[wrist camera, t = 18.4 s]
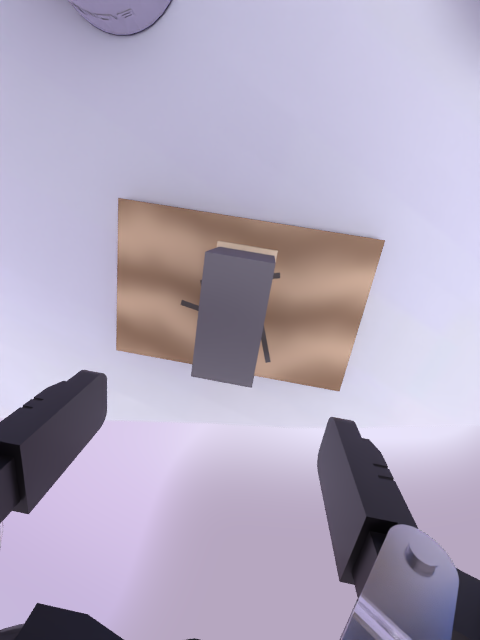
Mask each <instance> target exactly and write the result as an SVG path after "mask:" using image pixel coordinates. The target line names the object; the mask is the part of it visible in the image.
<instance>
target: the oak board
mask: <svg viewBox="0 0 480 640" xmlns="http://www.w3.org/2000/svg"><path fill="white" fill-rule="evenodd" d="M217 241H223V242H229V243H235V244H241V245H247V246H253V247H259V248H265V249H271V250H277V251H278V253H277V258H276V264H275V269H274V275H273V280H272V285H271V290H270V295H269V301H268V306H267V311H266V316H265V321H264V326H263V332H262V337H261V342H260V347H259V352H258V358H257V363H256V368H255V373H254V376H259V377H265V378H270V379H275V380H281V381H286V382H292V383H297V384H302V385H308V386H313V387H319V388H324V389H329V390H335V391H340V387H341V384H342V381H343V377H344V374H345V371H346V368H347V364H348V361H349V358H350V354H351V351H352V348H353V344H354V341H355V338H356V335H357V331H358V328H359V325H360V321H361V318H362V315H363V311H364V308H365V305H366V302H367V298H368V295H369V292H370V288H371V285H372V282H373V279H374V275H375V272H376V269H377V265H378V262H379V259H380V255H381V252H382V249H383V246H384V242H385V240H379V239H373V238H366V237H360V236H354V235H348V234H341V233H335V232H329V231H322V230H316V229H310V228H303V227H297V226H291V225H285V224H278V223H272V222H266V221H259V220H253V219H247V218H241V217H234V216H228V215H222V214H215V213H209V212H203V211H197V210H190V209H184V208H178V207H171V206H165V205H159V204H152V203H146V202H140V201H134V200H127V199H121V198H118V265H117V338H116V350H119V351H124V352H129V353H135V354H140V355H146V356H151V357H156V358H162V359H167V360H173V361H178V362H183V363H189V364H193V355H194V346H195V337H196V328H197V319H198V311H199V302H200V293H201V284H202V275H203V266H204V257H205V252H206V251H209V250H211V249H214V248H216V247H217Z"/></svg>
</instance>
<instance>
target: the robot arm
mask: <svg viewBox="0 0 480 640" xmlns="http://www.w3.org/2000/svg"><path fill="white" fill-rule="evenodd" d="M68 1H69V2H70V3H71V4H72V5H73V6H74V7H75V9H76V10H77V11H78V12H79V13H80V14H81V15H82V16H83V17H84V18H85V19H86V20H87V21H89V22H90V23H91V24H92V25H94V26H95V27H97V28H99V29H101V30H102V31H104V32H108V33H112V34H116V35H129V34H133V33H136V32H140V31H142V30H144V29H145V28H147V27H149V26H150V25H152V24H153V23H154V22H155V21H156V20H157V19H158V18H159V17H160V16H161V15H162V14H163V12H164V11H165V9H166V7H167V6H168V4H169V3H170V1H171V0H68ZM106 413H107V377H106V375H105V374H103V373H98V372H92V371H87V370H81V371H80V372H78V373H77V374H76V375H74V376H73V377H72V378H70V379H69V380H68V381H62V382H60V383H57V384H55V385H52V386H50V387H48V388H46V389H45V390H43V391H42V392H41V393H39V394H38V395H36V396H35V397H34V399H31V400H30V401H28V402H27V403H26V404H24V405H23V407H22V408H21V407H20V408H19V409H17V410H16V411H15V412H13V413H12V414H11V415H9V416H8V417H6V418H5V419H4V420H2V421H1V422H0V548H1V539H2V533H3V522H2V521H3V520H4V519H5V518H6V517H7V515H8V514H9V513H10V512H11V511H16V512H21V513H25V514H29V513H30V512H31V511H32V510H33V508H34V507H35V506H36V505H37V504H38V502H39V501H40V500H41V499H42V498H43V496H44V495H45V494H46V492H48V490H49V489H50V488H51V487H52V485H53V484H54V483H55V482H56V481H57V480H58V478H59V477H60V476H61V475H62V474H63V472H64V471H65V470H66V469H67V467H68V466H69V465H70V464H71V463H72V461H73V460H74V459H75V458H76V457H77V455H78V454H79V453H80V452H81V450H82V449H83V448H84V447H85V446H86V445H87V443H88V442H89V441H90V440H91V439H92V437H93V436H94V435H95V434H96V433H97V431H98V430H99V429H100V428H101V426H102V424H103V422H104V420H105V417H106ZM317 467H318V474H319V480H320V485H321V490H322V494H323V500H324V505H325V510H326V515H327V520H328V525H329V530H330V535H331V540H332V545H333V551H334V556H335V561H336V566H337V571H338V576H339V581H340V582H344V583H349V584H354V585H355V588H356V592H357V596H358V599H357V601H356V604H355V606H354V608H353V610H352V613H351V615H350V617H349V619H348V622H347V624H346V626H345V628H344V631H343V633H342V635H341V638H340V640H480V580H478V579H476V578H474V577H472V576H470V575H468V574H466V573H464V572H462V571H460V570H459V569H457V568H456V567H455V565H454V563H453V561H452V560H451V558H450V557H449V555H448V554H447V553H446V551H445V550H444V549H443V548H442V547H441V546H440V545H439V544H438V543H437V542H436V541H435V540H434V539H433V538H431V537H430V536H429V535H427V534H426V533H424V532H423V531H421V530H419V529H418V527H417V525H416V523H415V521H414V519H413V517H412V515H411V513H410V511H409V509H408V507H407V505H406V503H405V501H404V499H403V497H402V495H401V492H400V490H399V488H398V486H397V485H396V482H395V481H393V476H392V474H391V472H390V470H389V469H388V466H387V464H386V462H385V460H384V458H383V456H382V454H381V452H380V451H379V450H378V449H377V448H376V447H375V446H374V444H373V443H372V442H371V441H370V440H369V439H364V438H361V435H360V433H359V431H358V428H357V426H356V424H355V422H354V421H351V420H346V419H340V418H335V417H330V418H329V420H328V423H327V426H326V430H325V433H324V436H323V440H322V443H321V446H320V450H319V453H318V461H317ZM0 640H123V639H122V638H121V637H119V636H118V635H116V634H115V633H113V632H112V631H111V630H109V629H108V628H106V627H105V626H103V625H102V624H100V623H99V622H98V621H96V620H95V619H93V618H92V617H90V616H89V615H88V614H84V613H79V612H75V611H70V610H66V609H61V608H57V607H52V606H48V605H44V604H39V603H37V604H36V606H35V608H34V609H33V611H32V612H31V614H30V616H29V618H28V619H27V621H26V622H25V624H19V625H16V626H12V627H8V628H5V629H2V630H0ZM188 640H199V639H188Z"/></svg>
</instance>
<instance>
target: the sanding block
mask: <svg viewBox="0 0 480 640" xmlns="http://www.w3.org/2000/svg"><path fill="white" fill-rule="evenodd" d="M277 253H278V251H277V250H271V249H265V248H259V247H253V246H247V245H241V244H235V243H229V242H223V241H217V247H216V248H214V249H211V250H209V251H206V252H205V257H204V266H203V275H202V284H201V293H200V302H199V311H198V319H197V328H196V337H195V346H194V355H193V364H192V372H191V376H193V377H198V378H203V379H208V380H214V381H219V382H224V383H229V384H235V385H240V386H245V387H250V388H252V383H253V378H254V373H255V368H256V363H257V358H258V352H259V347H260V342H261V337H262V332H263V326H264V321H265V316H266V311H267V306H268V301H269V295H270V290H271V285H272V280H273V275H274V269H275V264H276V258H277Z"/></svg>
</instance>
